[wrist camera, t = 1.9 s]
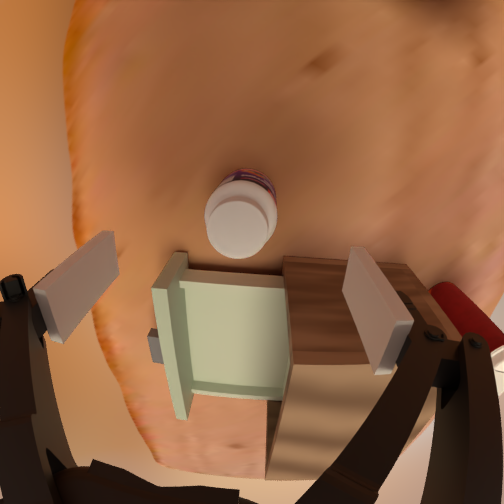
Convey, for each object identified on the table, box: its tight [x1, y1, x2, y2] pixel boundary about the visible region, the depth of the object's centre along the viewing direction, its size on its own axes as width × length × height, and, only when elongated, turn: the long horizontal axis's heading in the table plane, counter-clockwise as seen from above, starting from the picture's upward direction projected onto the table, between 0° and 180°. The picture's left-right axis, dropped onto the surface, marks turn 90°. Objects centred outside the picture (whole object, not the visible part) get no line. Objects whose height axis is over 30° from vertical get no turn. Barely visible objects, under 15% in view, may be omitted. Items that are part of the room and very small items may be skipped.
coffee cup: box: [428, 282, 504, 396], centre depth 25 cm, size 8×8×15 cm
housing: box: [265, 256, 462, 480], centre depth 27 cm, size 20×14×15 cm
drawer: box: [147, 252, 290, 420], centre depth 31 cm, size 20×16×7 cm
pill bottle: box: [204, 169, 278, 259], centre depth 23 cm, size 5×5×10 cm
